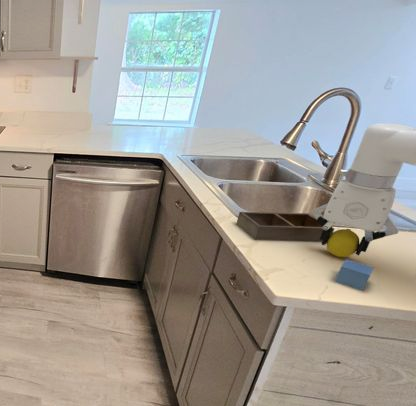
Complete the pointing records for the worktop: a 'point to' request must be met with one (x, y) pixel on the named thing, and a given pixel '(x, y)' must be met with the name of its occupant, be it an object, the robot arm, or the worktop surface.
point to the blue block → (354, 274)
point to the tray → (280, 226)
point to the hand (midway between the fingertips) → (341, 247)
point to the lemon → (343, 243)
